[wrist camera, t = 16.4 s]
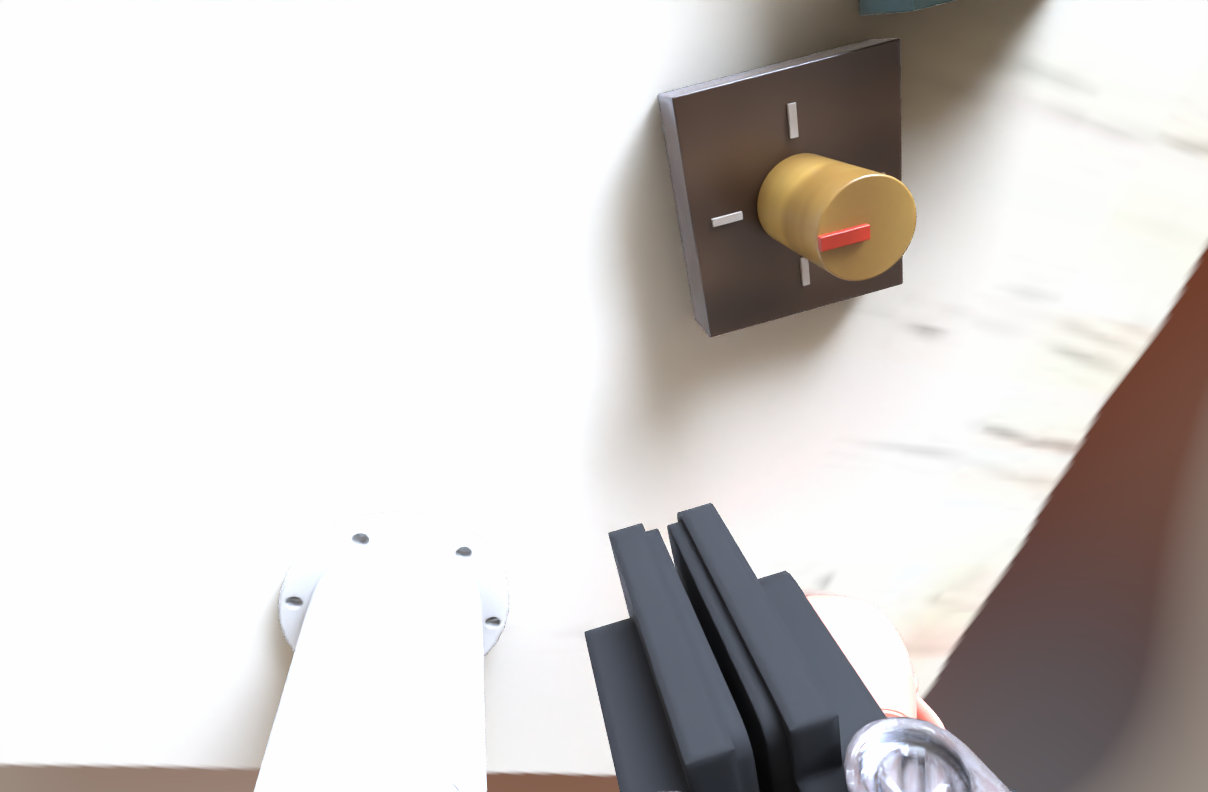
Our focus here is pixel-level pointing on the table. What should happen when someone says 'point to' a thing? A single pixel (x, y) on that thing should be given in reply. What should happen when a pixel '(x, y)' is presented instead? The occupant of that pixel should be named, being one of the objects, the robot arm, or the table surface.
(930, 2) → the teal push button box
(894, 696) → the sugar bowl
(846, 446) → the table surface
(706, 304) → the knob panel
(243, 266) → the table surface
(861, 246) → the knob
